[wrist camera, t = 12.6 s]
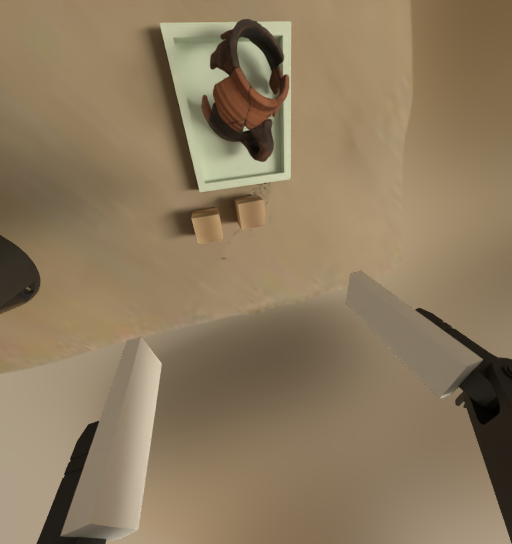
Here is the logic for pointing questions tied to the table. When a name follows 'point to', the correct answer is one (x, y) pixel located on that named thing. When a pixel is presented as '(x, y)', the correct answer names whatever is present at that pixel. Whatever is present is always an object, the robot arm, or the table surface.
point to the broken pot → (246, 92)
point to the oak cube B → (250, 211)
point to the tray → (200, 81)
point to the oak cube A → (207, 225)
